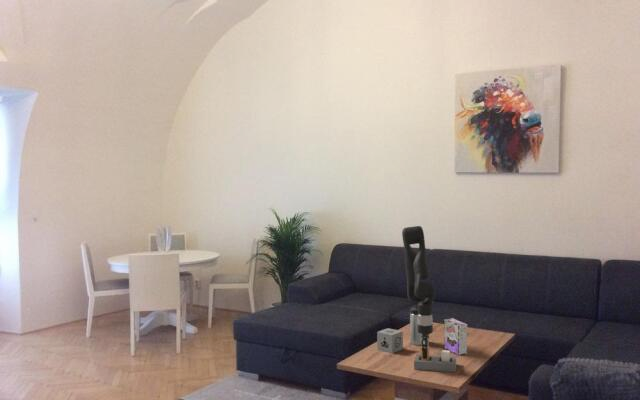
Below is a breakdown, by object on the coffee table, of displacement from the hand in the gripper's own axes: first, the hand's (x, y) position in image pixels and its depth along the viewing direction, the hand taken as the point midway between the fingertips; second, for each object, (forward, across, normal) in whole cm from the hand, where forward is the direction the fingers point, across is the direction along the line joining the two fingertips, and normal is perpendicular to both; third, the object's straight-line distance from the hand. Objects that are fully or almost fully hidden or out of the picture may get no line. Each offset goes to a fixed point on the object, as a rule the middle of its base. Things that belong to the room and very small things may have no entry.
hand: (425, 356), depth 291 cm
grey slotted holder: (+5, 0, +5) cm, 7 cm away
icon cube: (+5, -24, -21) cm, 32 cm away
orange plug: (+2, 0, 0) cm, 2 cm away
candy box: (+5, -28, +14) cm, 32 cm away
